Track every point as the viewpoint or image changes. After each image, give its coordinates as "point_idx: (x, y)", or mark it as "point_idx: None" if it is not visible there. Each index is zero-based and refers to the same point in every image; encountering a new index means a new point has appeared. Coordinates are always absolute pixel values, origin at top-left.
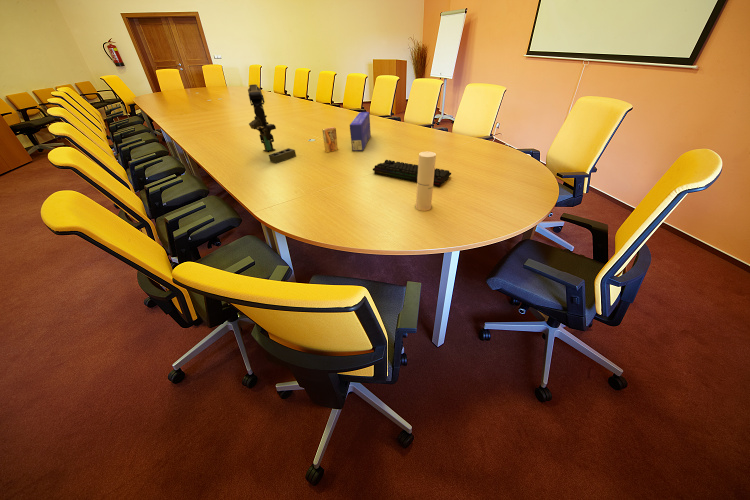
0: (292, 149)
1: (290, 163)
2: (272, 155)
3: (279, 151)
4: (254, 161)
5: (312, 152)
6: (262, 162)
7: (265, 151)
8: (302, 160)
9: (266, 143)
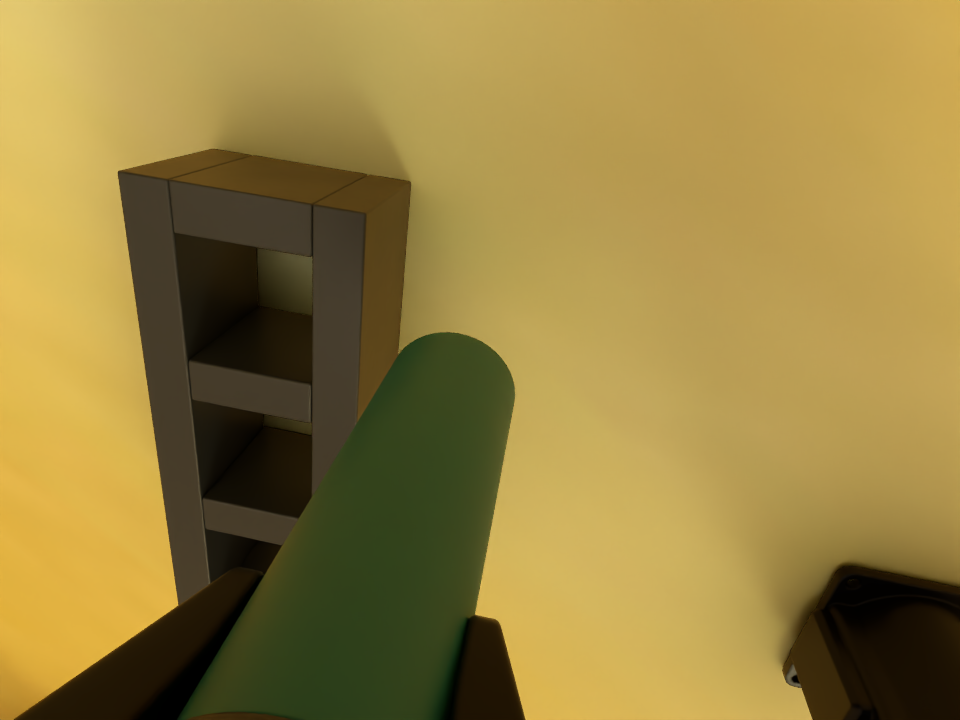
0: None
1: (15, 263)
2: (243, 225)
3: None
4: (797, 21)
5: None
6: (536, 62)
7: (940, 584)
8: (6, 433)
9: (355, 449)
